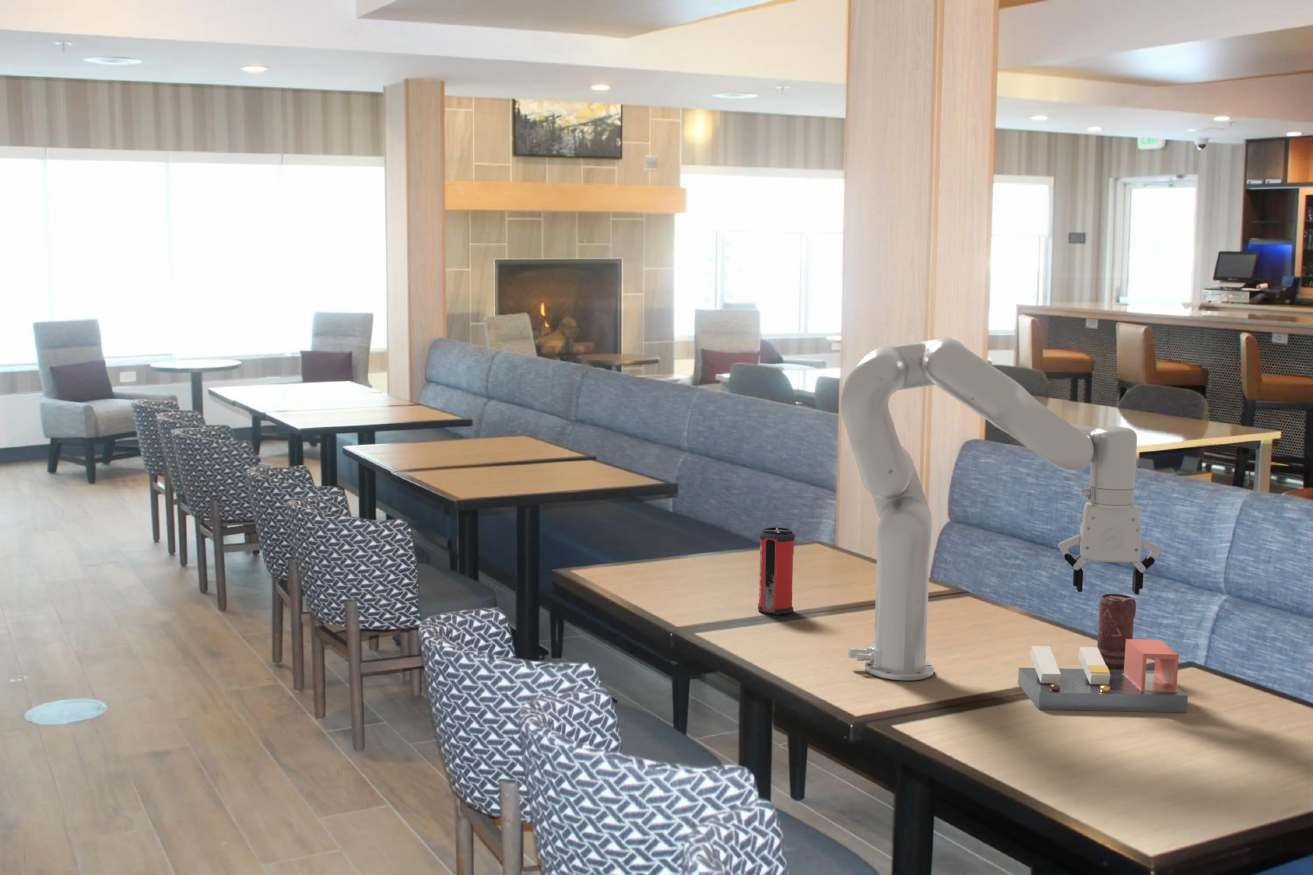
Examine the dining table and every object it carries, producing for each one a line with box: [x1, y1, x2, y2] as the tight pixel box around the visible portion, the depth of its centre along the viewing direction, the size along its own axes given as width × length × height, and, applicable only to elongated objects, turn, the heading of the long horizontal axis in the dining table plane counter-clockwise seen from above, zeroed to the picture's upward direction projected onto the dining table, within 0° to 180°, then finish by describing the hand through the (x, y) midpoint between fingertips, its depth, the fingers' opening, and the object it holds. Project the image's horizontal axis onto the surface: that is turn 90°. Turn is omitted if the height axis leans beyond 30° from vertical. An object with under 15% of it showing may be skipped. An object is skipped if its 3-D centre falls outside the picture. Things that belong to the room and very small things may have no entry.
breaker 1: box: [1029, 645, 1061, 683], centre depth 228 cm, size 3×8×2 cm, turn 179°
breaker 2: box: [1077, 646, 1110, 684], centre depth 228 cm, size 3×8×2 cm, turn 178°
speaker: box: [757, 527, 796, 616], centre depth 282 cm, size 8×8×18 cm
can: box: [1096, 593, 1137, 670], centre depth 244 cm, size 6×6×14 cm
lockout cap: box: [1124, 638, 1180, 690], centre depth 227 cm, size 6×9×6 cm, turn 179°
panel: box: [1017, 667, 1189, 714], centre depth 228 cm, size 25×14×4 cm, turn 89°
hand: (1107, 591), depth 231 cm, fingers open, 9 cm apart
